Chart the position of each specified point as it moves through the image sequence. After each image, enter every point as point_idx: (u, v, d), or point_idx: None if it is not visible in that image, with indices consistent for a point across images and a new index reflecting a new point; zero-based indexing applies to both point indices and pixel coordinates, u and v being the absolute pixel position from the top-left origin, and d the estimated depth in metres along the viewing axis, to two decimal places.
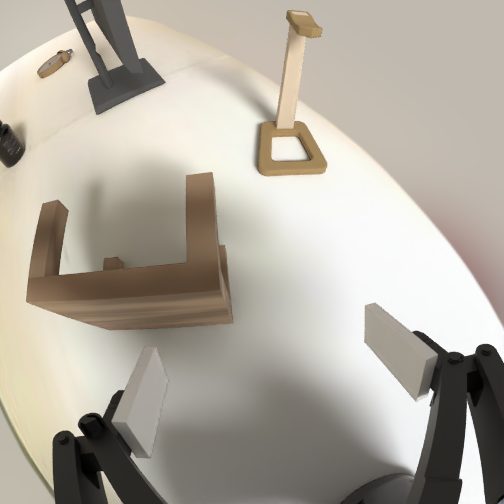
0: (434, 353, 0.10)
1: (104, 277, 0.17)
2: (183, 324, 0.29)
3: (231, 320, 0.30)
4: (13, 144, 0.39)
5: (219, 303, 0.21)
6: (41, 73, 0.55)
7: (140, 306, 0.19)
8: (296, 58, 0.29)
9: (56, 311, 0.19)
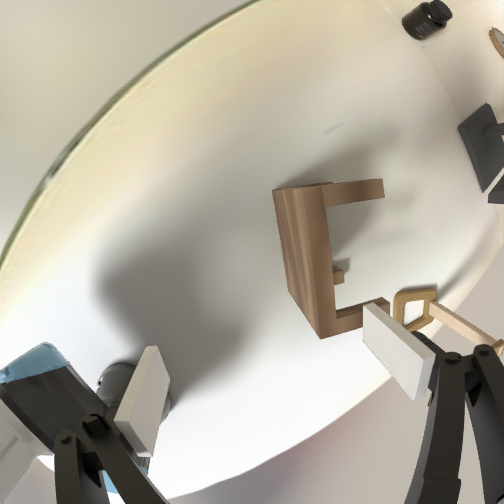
0: (432, 353, 0.10)
1: (327, 267, 0.27)
2: (286, 261, 0.41)
3: (291, 295, 0.42)
4: (427, 32, 0.32)
5: (309, 320, 0.32)
6: (493, 34, 0.34)
7: (307, 278, 0.30)
8: (472, 336, 0.34)
9: (293, 196, 0.29)
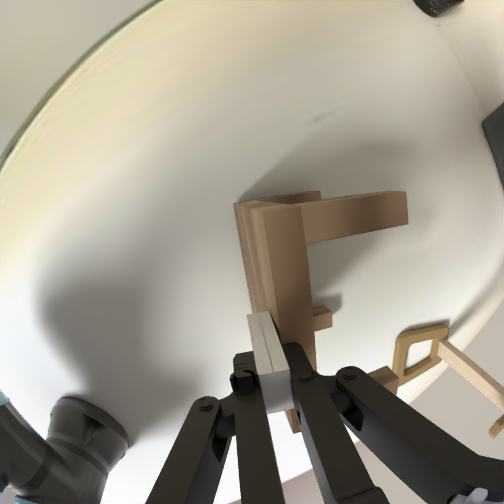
0: (286, 367, 0.12)
1: (307, 345, 0.15)
2: (252, 303, 0.29)
3: None
4: (442, 6, 0.21)
5: None
6: None
7: None
8: (488, 391, 0.22)
9: (252, 220, 0.17)
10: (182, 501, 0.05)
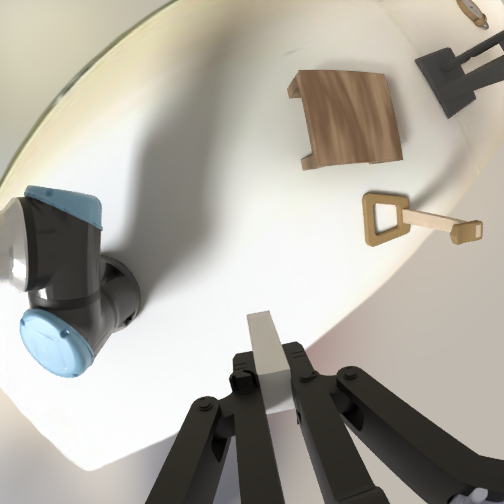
0: (287, 367, 0.12)
1: None
2: (325, 130, 0.38)
3: (331, 164, 0.39)
4: None
5: (384, 158, 0.40)
6: (460, 0, 0.36)
7: (383, 123, 0.38)
8: (447, 226, 0.37)
9: (368, 76, 0.36)
10: (181, 501, 0.05)
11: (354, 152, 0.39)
